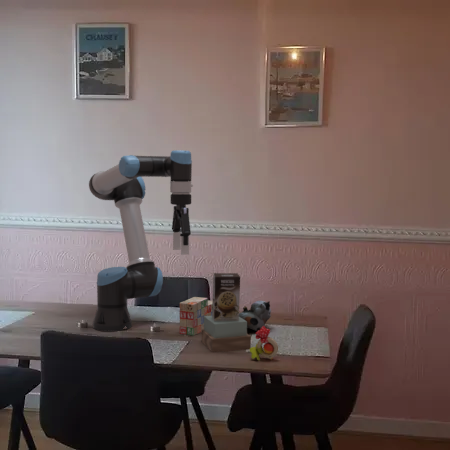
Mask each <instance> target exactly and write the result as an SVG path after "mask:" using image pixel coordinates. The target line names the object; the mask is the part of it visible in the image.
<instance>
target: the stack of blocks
mask: <svg viewBox="0 0 450 450" xmlns="http://www.w3.org/2000/svg"><path fill="white" fill-rule="evenodd" d="M212 302H213V300H209V299H208V297H200V296H199V297H198V296H193V297H191V298H188V299H186V300H184V301H181V302H179V334H180V335H186V336H188V335H189V336H195V335H197V334H200V333H202V329H204V316H212Z"/></svg>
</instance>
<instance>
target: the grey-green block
mask: <svg viewBox="0 0 450 450" xmlns="http://www.w3.org/2000/svg"><path fill="white" fill-rule="evenodd" d="M204 330H205V331H206V332H207V333H209V334H210V335H211V336H212V337H214V338H224V337H235V336H245V335H247V334H248V328H247V321H245V320H244V319H242V318H240V317H239V321H214V320H213V317H212V316H204Z"/></svg>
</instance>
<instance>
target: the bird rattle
mask: <svg viewBox="0 0 450 450" xmlns="http://www.w3.org/2000/svg"><path fill="white" fill-rule="evenodd" d="M270 333H271V329H269V328H266V326H265V327H264V326H263V327H262V328H261V329H260V330H259V331H256V332H255V339H256V340H258V339H259V340H258V341H257V343H256V345H255V346H251V348H250V349H249V352H250V354H251V356H250V358H251V359H253V360H254V359H256V360H257V361H260V360H261V358H260V356H261V357H263V358H266V359H269V360H271V361H272V360H273V359H274V357H276V355H277V354H278V352H279V345H278V342H277V341H276V340H275V339H273V338H272V337H269V335H270Z"/></svg>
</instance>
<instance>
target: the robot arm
mask: <svg viewBox="0 0 450 450" xmlns="http://www.w3.org/2000/svg"><path fill="white" fill-rule="evenodd" d="M192 163H193V161H192V153H191V151H190V150H183V149H181V150H179V149H178V150H177V149H176V150H175V149H174V150H171V152H170V155H169V156H166V155H165V156H163V155H162V156H161V155H160V156H159V155H157V156H156V155H150V156H149V155H133V154H130V155H123V156H122V157H121V158H120V160H119V162H118V164H116V165H114V166H112V167H110V168H109V169H107V170H105V171H104V170H102V171H98V172H96V173H93V174H92V176H91V177H90V179H89V181H88V188H89V191H90V193H91V194H92V195H93V196H94V197H96V198H98V199H99V200H102V201H113V202H114V206H115V207H116V208H117V209H118V210H119V214H120V219H121V224H122V229H123V236H124V241H125V248H126V253H127V257H128V264H127V265H126V267H125V266H112V267H107V268H104V269H101V270H100V271H99V272H98V273H97V277H96V289H97V290H96V293H97V295H96V298H97V299H96V302H97V309H96V312H95V315H94V318H93V322H92V328H93V329H94V330H95V331H101V332H117V331H123V328H124V327H125V326H126V327H127V329H130V328H131V327H132V325H133V323H132V317H131V315H130V312H129V309H128V300H129V299H130V300H132V299H141V298H149V297H156V296H157V295H158V294H159V293H161V290H162V287H163V282H164V278H163V277H164V276H163V272H162V270H161V268H160V267H158V266H156V265H155V261H153V260H152V259H151V258H150V252H149V247H148V243H147V237H146V232H145V227H144V221H143V215H142V210H141V204H142V203H143V199H144V198H145V196H146V184H145V181H144V179H143V177H153V178H154V177H155V178H156V177H158V178H159V177H161V178H170V182H169V184H170V193H171V194H170V204H171V205H172V206H173V205H174V206H173V212H172V213H173V214H172V222H171V223H172V224H171V230H172V250H174V251H177V250H179V251H180V255H182V256H183V255H190V235H191V233H192V232H191V226H190V225H191V222H190V215H189V214H190V213H189V211H190V209H189V207H187V205H191V204H192V194H190V193H192V188H193V187H194V185H193V183H192V166H193V164H192ZM127 329H126V330H127Z"/></svg>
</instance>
